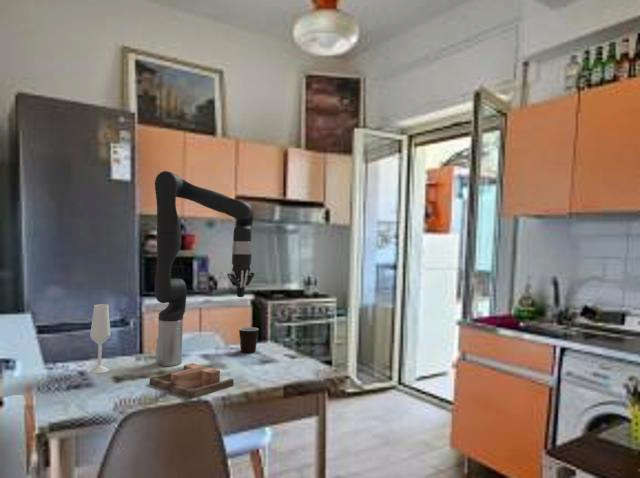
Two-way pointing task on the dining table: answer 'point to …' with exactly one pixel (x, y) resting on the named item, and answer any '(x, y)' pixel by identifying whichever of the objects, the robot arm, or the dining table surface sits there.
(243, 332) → the coffee mug
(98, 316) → the champagne flute
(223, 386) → the frame
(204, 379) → the t block
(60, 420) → the dining table surface
